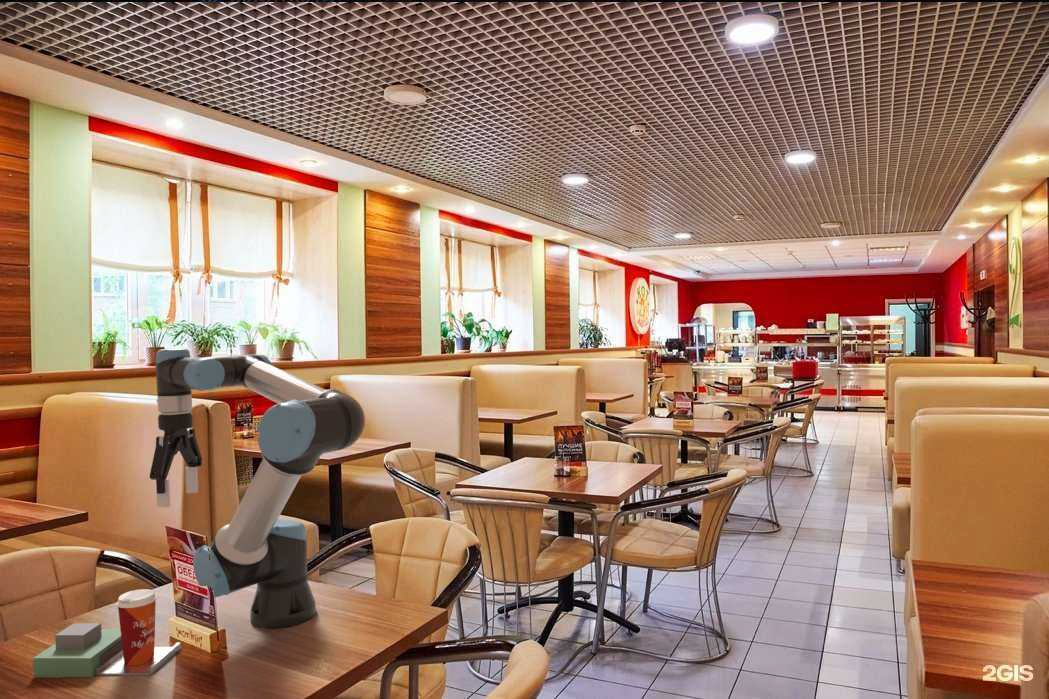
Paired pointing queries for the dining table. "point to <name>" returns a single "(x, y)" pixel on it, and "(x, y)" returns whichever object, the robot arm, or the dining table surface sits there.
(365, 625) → the dining table surface
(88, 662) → the stepped green box
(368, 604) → the dining table surface
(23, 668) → the dining table surface
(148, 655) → the paper cup
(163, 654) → the plate
